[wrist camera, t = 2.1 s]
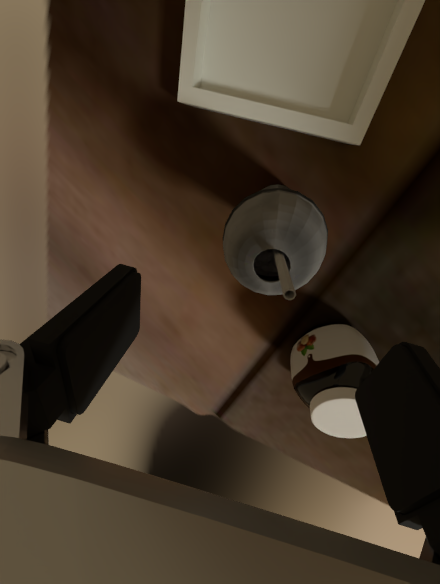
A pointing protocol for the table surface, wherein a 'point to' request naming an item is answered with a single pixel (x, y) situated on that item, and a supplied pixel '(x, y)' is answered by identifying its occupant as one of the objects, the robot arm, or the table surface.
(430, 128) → the table surface
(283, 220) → the beverage cup
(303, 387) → the spread jar
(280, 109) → the walled tray
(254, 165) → the table surface
